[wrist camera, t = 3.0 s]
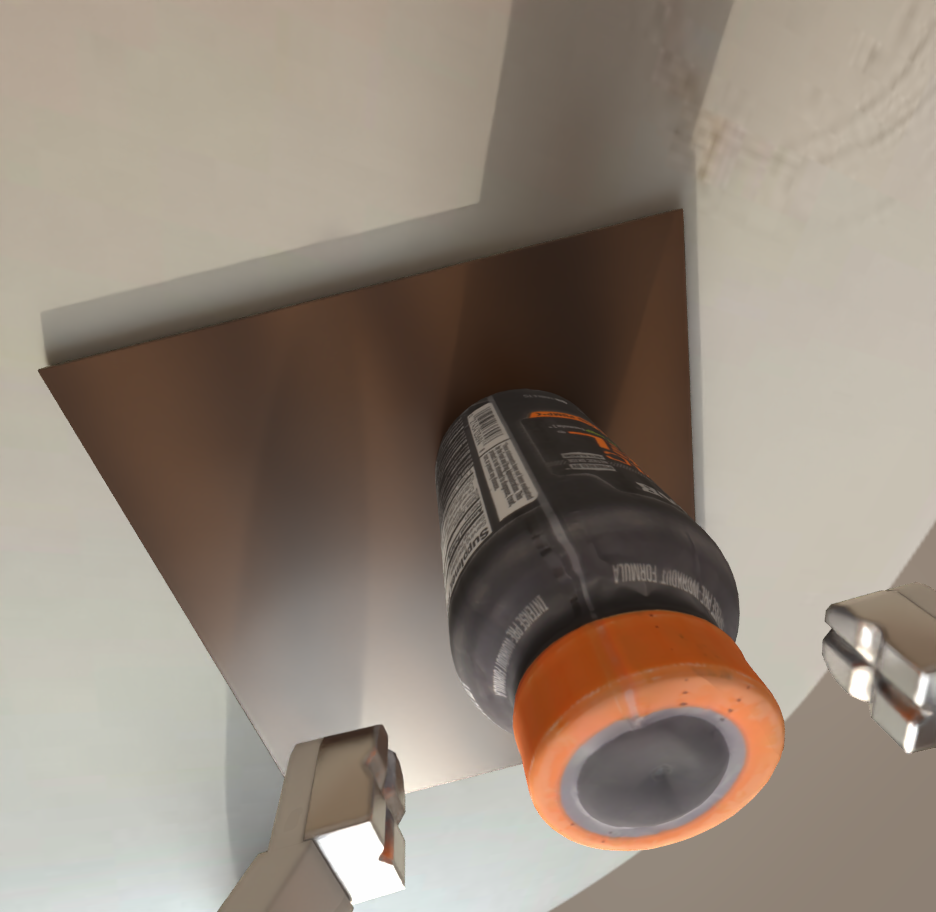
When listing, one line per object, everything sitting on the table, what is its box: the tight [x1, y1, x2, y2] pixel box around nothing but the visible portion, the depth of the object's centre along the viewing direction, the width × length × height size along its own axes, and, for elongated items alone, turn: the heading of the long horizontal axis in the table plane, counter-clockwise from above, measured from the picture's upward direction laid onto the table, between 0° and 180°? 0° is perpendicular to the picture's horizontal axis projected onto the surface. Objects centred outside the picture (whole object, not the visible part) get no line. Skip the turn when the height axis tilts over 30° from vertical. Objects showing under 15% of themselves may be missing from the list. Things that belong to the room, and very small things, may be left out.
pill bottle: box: [435, 389, 785, 851], centre depth 12 cm, size 6×6×11 cm
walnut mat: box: [38, 208, 695, 794], centre depth 20 cm, size 20×23×1 cm
